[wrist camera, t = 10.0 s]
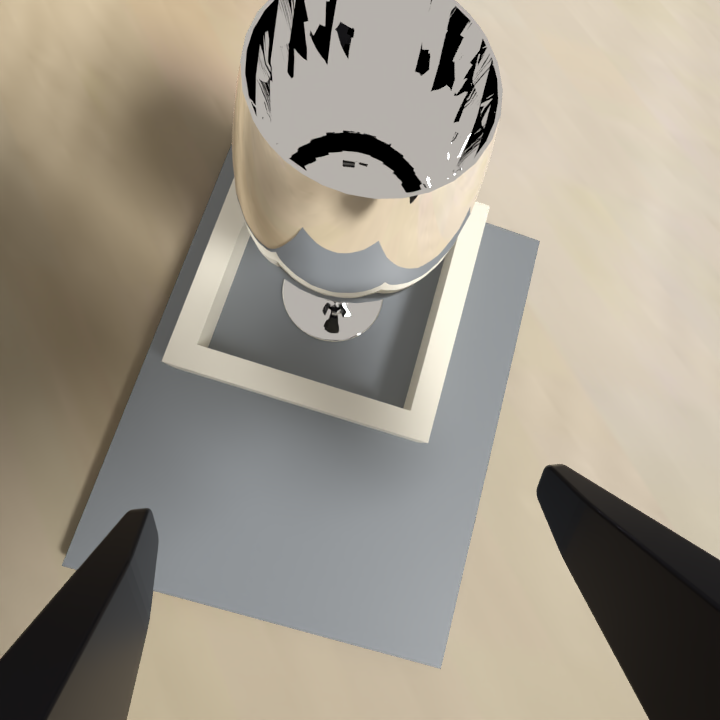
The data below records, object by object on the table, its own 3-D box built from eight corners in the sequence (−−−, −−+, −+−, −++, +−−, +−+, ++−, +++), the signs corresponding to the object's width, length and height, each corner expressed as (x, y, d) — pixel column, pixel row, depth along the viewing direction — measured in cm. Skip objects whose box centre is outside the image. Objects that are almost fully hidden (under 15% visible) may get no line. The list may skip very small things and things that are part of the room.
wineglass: (244, 261, 19) (148, -12, 7) (361, 212, 20) (439, -95, 9) (302, 380, 19) (298, 286, 7) (420, 323, 20) (589, 158, 8)
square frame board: (533, 246, 22) (558, 225, 20) (436, 661, 18) (453, 692, 16) (236, 144, 21) (228, 110, 19) (70, 561, 17) (36, 579, 15)
